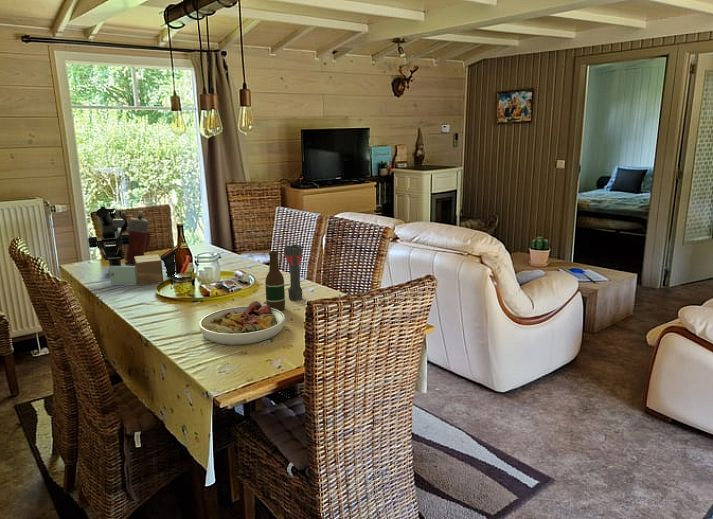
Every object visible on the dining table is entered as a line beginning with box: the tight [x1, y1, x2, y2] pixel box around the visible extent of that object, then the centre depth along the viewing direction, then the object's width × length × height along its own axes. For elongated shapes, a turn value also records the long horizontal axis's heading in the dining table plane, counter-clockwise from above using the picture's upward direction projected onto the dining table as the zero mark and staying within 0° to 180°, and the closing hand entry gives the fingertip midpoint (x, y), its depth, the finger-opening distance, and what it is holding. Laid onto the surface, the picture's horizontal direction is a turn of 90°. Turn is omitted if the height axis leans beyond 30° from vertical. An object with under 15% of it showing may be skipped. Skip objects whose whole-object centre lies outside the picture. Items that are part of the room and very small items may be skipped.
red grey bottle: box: [124, 210, 151, 263], centre depth 300 cm, size 9×11×28 cm
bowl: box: [198, 300, 286, 346], centre depth 193 cm, size 30×30×8 cm
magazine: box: [159, 245, 177, 278], centre depth 272 cm, size 4×13×15 cm, turn 131°
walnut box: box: [134, 254, 164, 286], centre depth 262 cm, size 15×11×11 cm
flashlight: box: [283, 244, 303, 302], centre depth 230 cm, size 8×8×23 cm
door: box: [108, 265, 139, 286], centre depth 253 cm, size 13×2×9 cm, turn 84°
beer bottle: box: [264, 250, 286, 312], centre depth 215 cm, size 8×8×24 cm
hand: (111, 254), depth 263 cm, fingers open, 4 cm apart
